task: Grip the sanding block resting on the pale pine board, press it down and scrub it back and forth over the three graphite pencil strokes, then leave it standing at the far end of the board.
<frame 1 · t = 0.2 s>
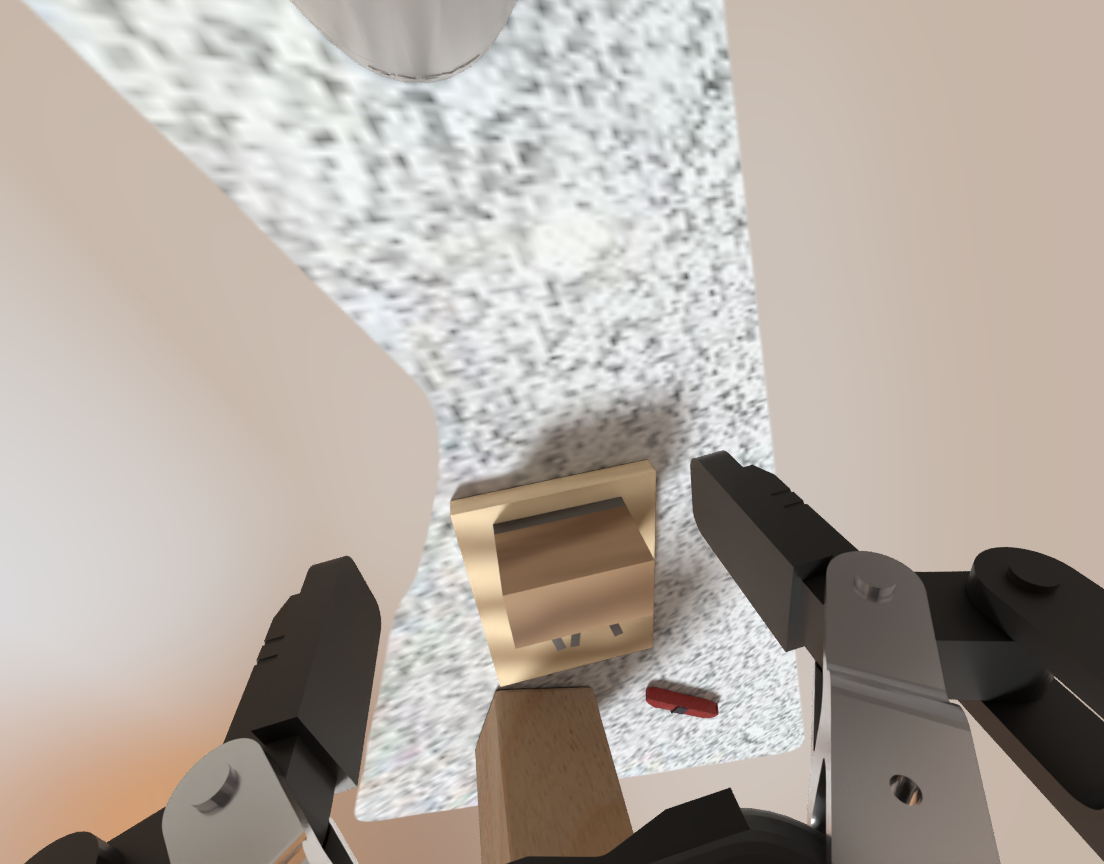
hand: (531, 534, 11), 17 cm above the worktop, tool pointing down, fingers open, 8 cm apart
wooden block: (532, 714, 47), on the worktop
pine board: (564, 577, 38), on the worktop
utility knife: (679, 693, 51), on the worktop
sanding block: (561, 536, 33), point 1 cm above the worktop, touching pine board
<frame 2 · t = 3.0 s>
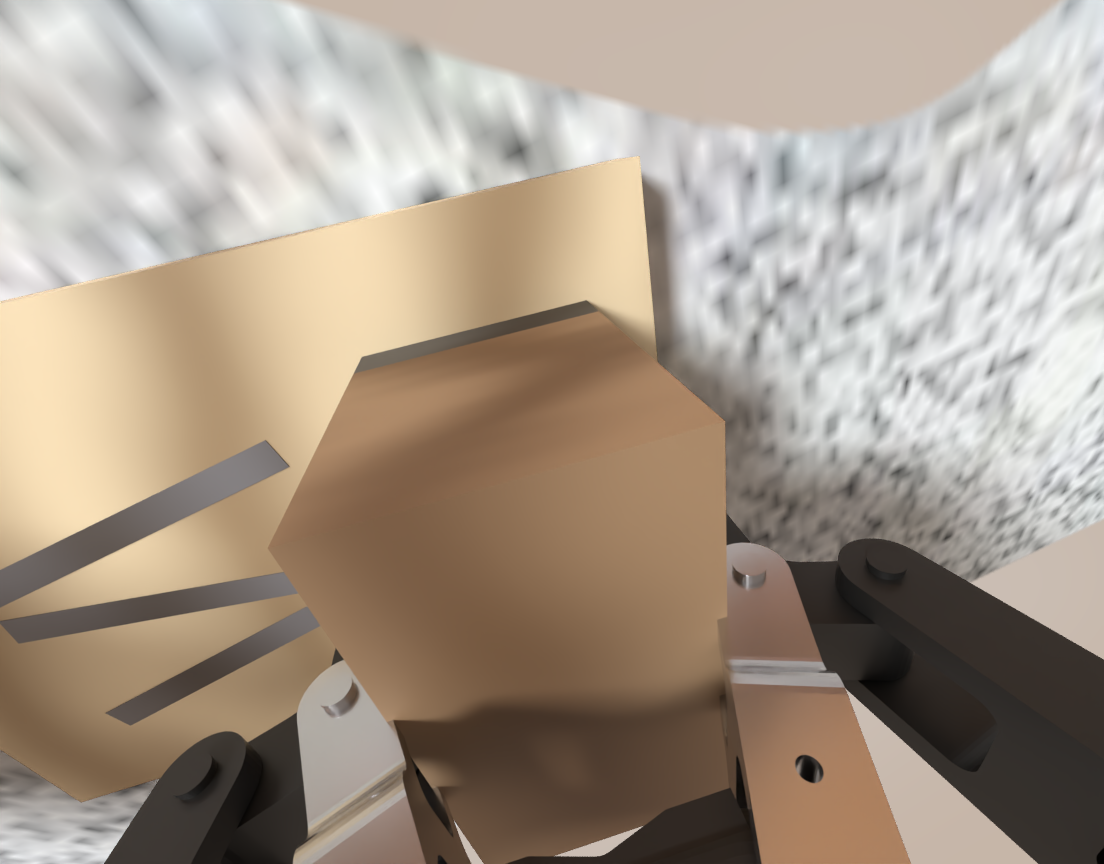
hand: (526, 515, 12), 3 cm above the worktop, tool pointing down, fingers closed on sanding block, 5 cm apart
pine board: (310, 517, 13), on the worktop
sanding block: (522, 490, 12), point 2 cm above the worktop, touching gripper, pine board
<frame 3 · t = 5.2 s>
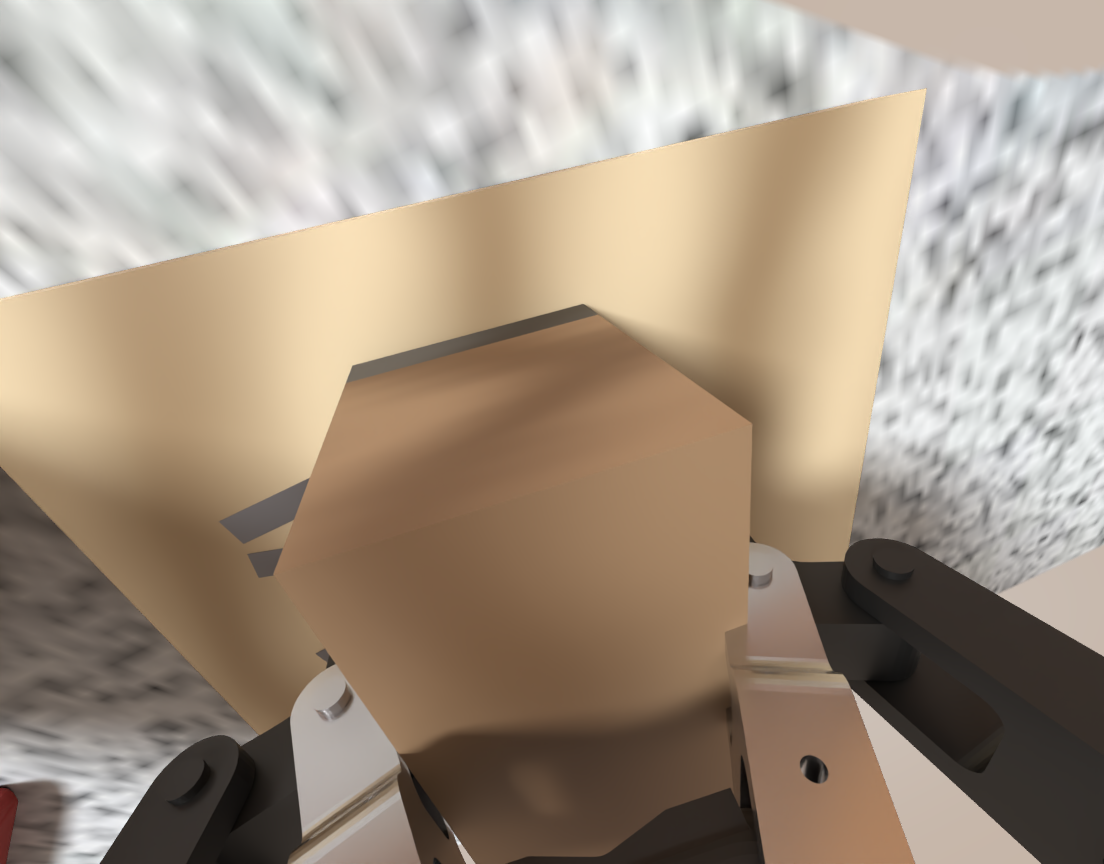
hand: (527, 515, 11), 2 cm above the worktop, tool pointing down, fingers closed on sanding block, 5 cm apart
pine board: (516, 463, 14), on the worktop
sanding block: (519, 499, 12), point 2 cm above the worktop, touching gripper
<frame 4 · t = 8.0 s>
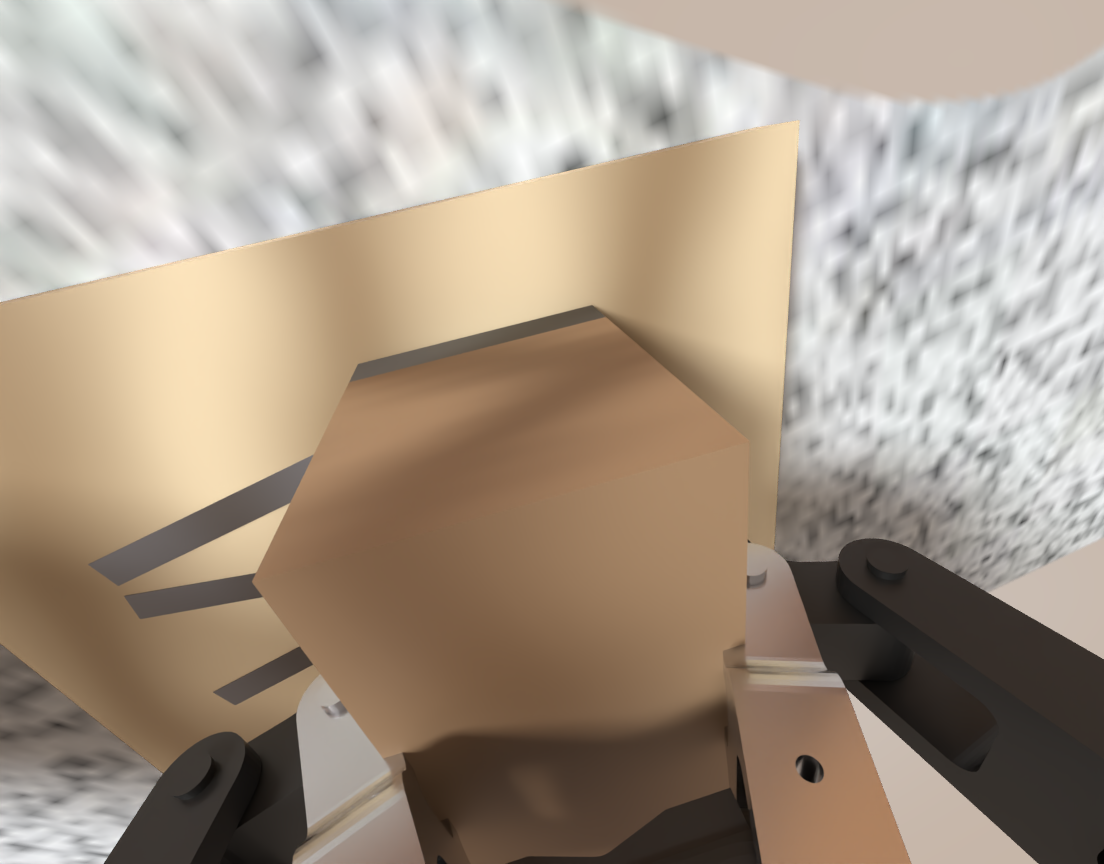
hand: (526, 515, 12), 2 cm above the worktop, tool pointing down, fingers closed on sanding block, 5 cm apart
pine board: (419, 495, 13), on the worktop
sanding block: (524, 500, 12), point 2 cm above the worktop, touching gripper
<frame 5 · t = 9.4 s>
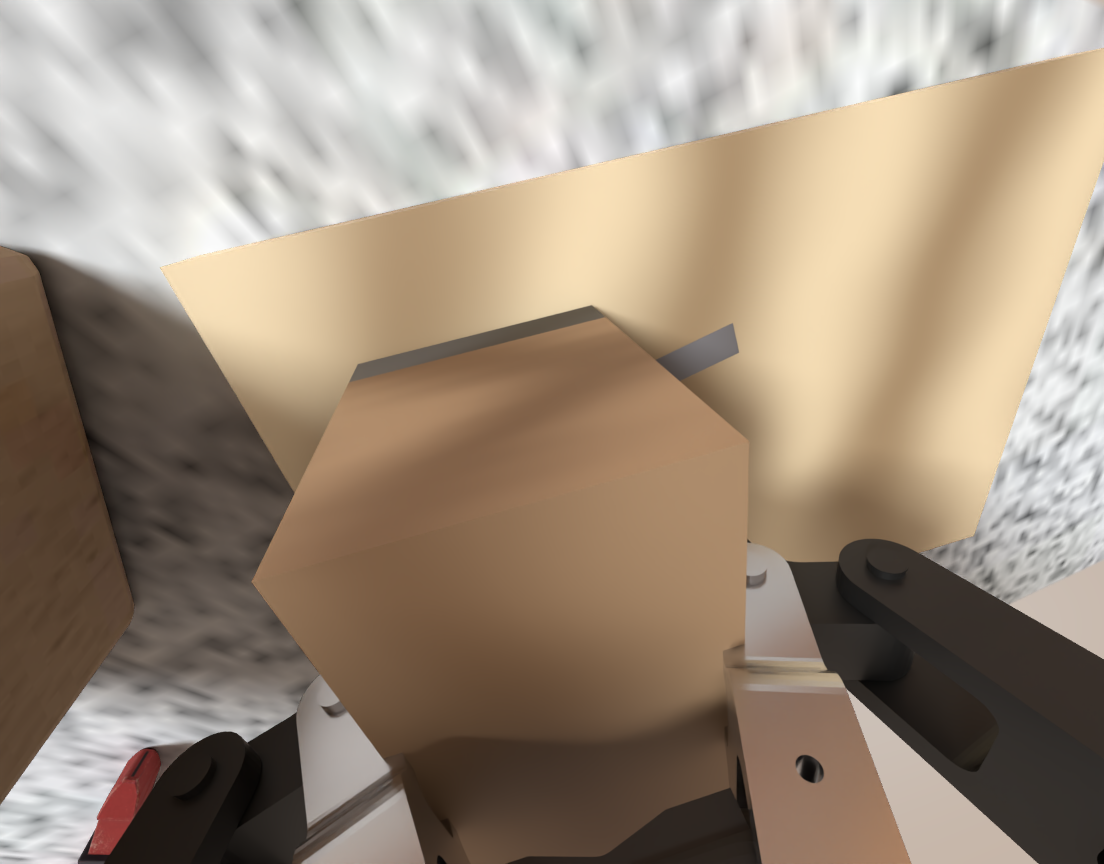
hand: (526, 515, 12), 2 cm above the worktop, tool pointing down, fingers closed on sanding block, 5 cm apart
pine board: (679, 421, 14), on the worktop
utility knife: (126, 816, 18), on the worktop
sanding block: (524, 501, 12), point 2 cm above the worktop, touching gripper
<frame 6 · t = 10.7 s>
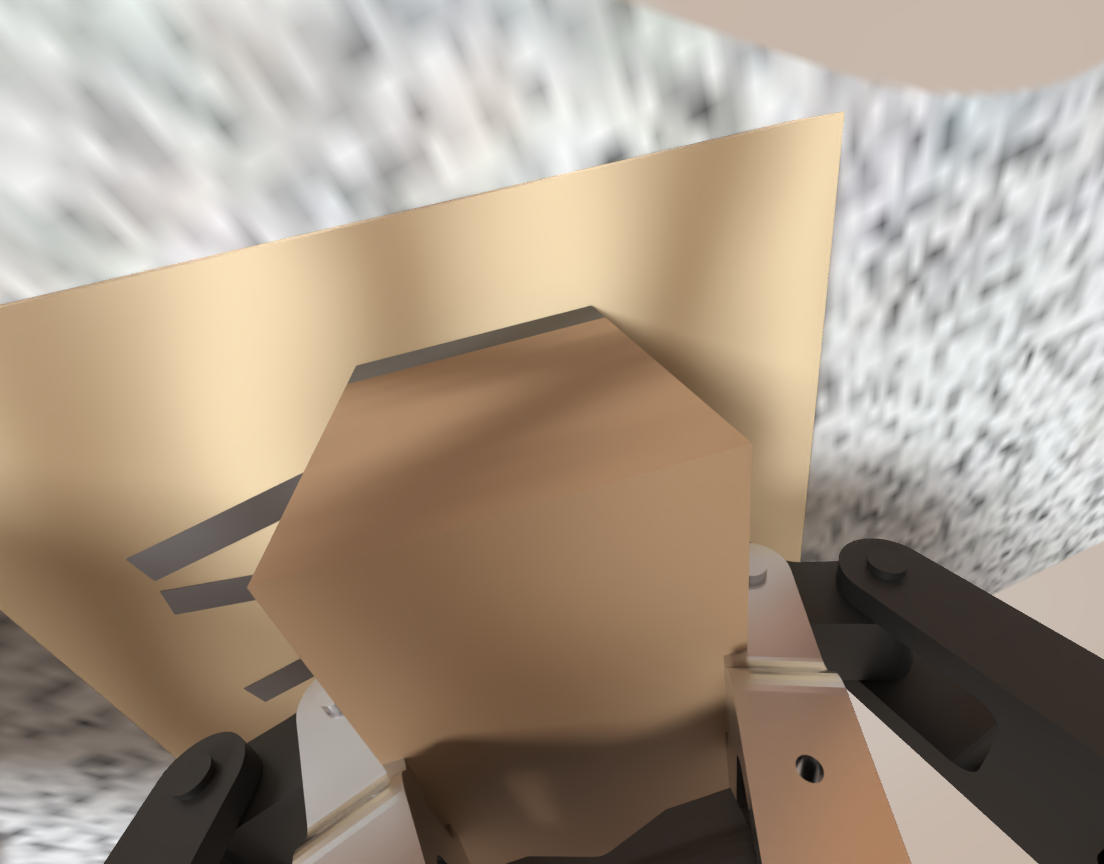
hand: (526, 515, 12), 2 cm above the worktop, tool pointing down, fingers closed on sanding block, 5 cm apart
pine board: (450, 490, 13), on the worktop
sanding block: (524, 502, 12), point 2 cm above the worktop, touching gripper
when the fingers open (3 cm above the worktop, at t = 12.9 s): sanding block stays where it is, resting on pine board.
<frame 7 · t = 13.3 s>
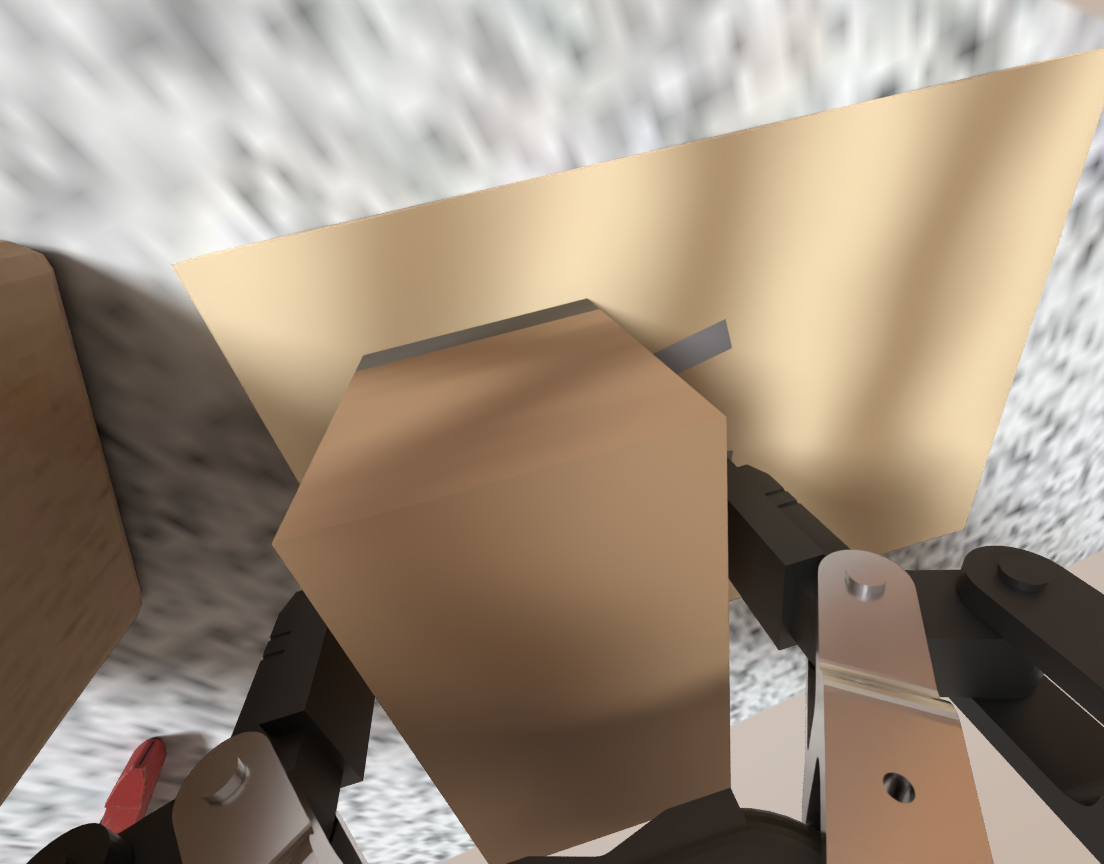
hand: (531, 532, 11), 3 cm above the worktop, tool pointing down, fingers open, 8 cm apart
pine board: (674, 416, 14), on the worktop
utility knife: (131, 807, 18), on the worktop
sanding block: (523, 488, 12), point 2 cm above the worktop, touching pine board
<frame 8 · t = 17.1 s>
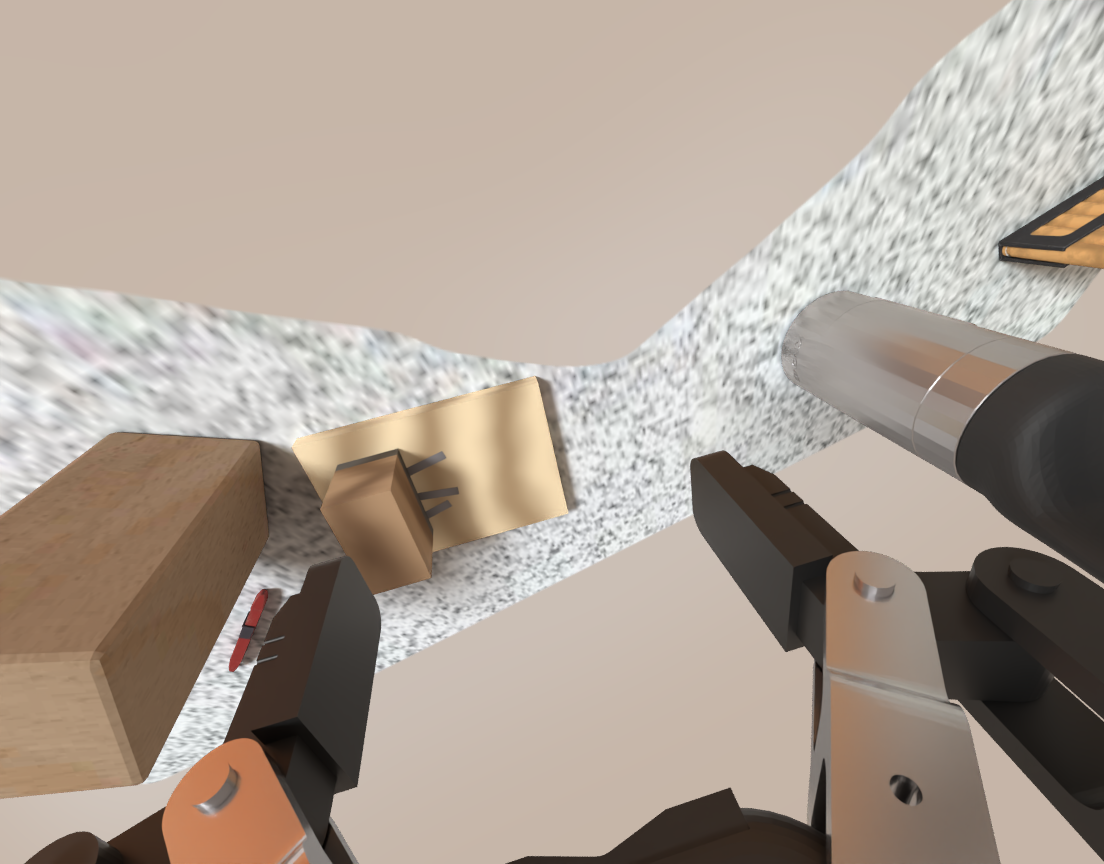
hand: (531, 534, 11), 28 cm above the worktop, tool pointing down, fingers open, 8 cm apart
wooden block: (199, 486, 38), on the worktop
ammunition clip: (1051, 217, 42), on the worktop
pine board: (444, 474, 42), on the worktop
utility knife: (251, 622, 46), on the worktop
sanding block: (388, 499, 40), point 2 cm above the worktop, touching pine board
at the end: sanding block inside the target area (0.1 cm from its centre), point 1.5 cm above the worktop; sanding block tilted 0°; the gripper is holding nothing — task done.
